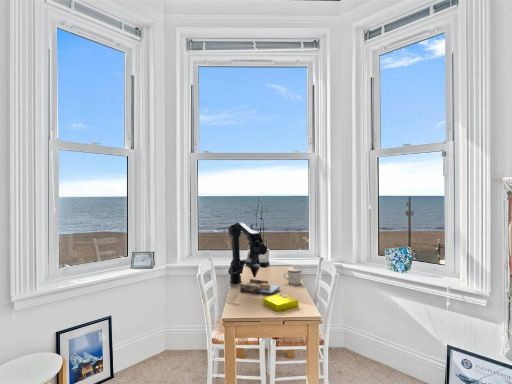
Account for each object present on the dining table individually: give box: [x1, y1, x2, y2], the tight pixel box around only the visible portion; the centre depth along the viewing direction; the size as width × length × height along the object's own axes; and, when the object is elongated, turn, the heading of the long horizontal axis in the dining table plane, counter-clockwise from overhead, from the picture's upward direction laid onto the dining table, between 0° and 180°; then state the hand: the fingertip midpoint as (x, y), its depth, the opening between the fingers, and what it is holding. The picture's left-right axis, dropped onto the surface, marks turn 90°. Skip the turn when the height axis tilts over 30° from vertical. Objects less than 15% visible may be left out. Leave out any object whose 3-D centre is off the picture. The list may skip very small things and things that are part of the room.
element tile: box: [262, 293, 299, 313], centre depth 177 cm, size 15×15×5 cm
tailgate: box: [260, 284, 281, 294], centre depth 202 cm, size 1×14×8 cm
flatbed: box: [239, 278, 269, 295], centre depth 207 cm, size 14×17×4 cm
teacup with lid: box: [283, 265, 302, 285], centre depth 222 cm, size 12×9×12 cm
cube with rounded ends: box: [260, 283, 271, 290], centre depth 200 cm, size 7×3×3 cm, turn 62°
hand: (254, 277), depth 203 cm, fingers closed
